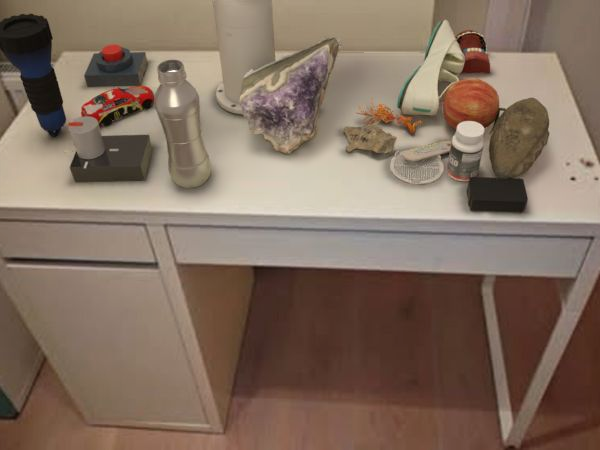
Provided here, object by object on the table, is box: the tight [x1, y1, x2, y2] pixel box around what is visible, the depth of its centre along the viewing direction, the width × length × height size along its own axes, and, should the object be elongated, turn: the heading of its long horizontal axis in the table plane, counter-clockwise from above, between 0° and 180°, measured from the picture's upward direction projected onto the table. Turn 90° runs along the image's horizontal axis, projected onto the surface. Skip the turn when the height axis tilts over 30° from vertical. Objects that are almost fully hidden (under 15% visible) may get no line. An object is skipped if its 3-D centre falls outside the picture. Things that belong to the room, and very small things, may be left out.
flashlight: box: [0, 13, 67, 138], centre depth 105 cm, size 8×8×20 cm
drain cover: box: [389, 150, 445, 185], centre depth 102 cm, size 8×8×1 cm
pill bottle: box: [446, 121, 486, 182], centre depth 98 cm, size 5×5×8 cm
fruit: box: [442, 78, 507, 135], centre depth 106 cm, size 9×10×10 cm
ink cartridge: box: [466, 176, 529, 214], centre depth 96 cm, size 5×2×8 cm
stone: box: [488, 97, 550, 178], centre depth 100 cm, size 17×9×8 cm, turn 156°
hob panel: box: [63, 134, 153, 183], centre depth 104 cm, size 13×9×3 cm
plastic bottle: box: [153, 58, 212, 189], centre depth 95 cm, size 6×7×20 cm
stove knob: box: [67, 116, 105, 159], centre depth 101 cm, size 4×4×5 cm
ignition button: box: [101, 44, 123, 62], centre depth 122 cm, size 4×4×2 cm
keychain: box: [401, 140, 452, 162], centre depth 104 cm, size 10×1×3 cm
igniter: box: [83, 46, 148, 88], centre depth 124 cm, size 10×8×4 cm
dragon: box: [357, 97, 424, 134], centre depth 109 cm, size 4×11×4 cm, turn 68°
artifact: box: [342, 121, 397, 154], centre depth 106 cm, size 7×3×10 cm
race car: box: [80, 85, 155, 127], centre depth 115 cm, size 13×5×4 cm, turn 127°
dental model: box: [455, 29, 491, 74], centre depth 122 cm, size 7×5×10 cm
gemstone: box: [240, 36, 343, 155], centre depth 105 cm, size 18×16×14 cm
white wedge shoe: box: [396, 19, 465, 116], centre depth 115 cm, size 8×24×8 cm
